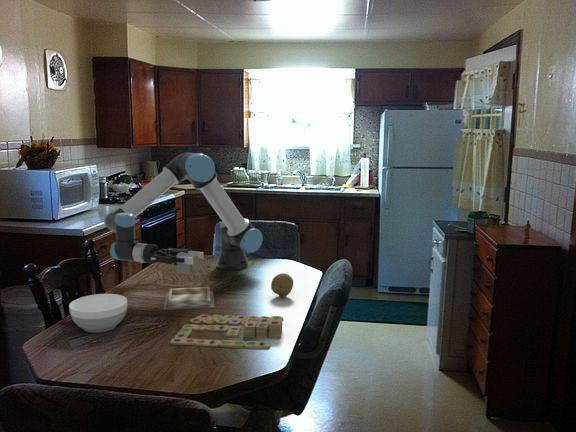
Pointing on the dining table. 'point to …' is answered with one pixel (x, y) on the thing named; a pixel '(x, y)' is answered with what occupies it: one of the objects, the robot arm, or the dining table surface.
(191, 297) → the tray
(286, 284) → the natural sponge
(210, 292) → the mat
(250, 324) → the pile of dominoes
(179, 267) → the ceramic mug
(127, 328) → the dining table surface
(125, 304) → the bowl
